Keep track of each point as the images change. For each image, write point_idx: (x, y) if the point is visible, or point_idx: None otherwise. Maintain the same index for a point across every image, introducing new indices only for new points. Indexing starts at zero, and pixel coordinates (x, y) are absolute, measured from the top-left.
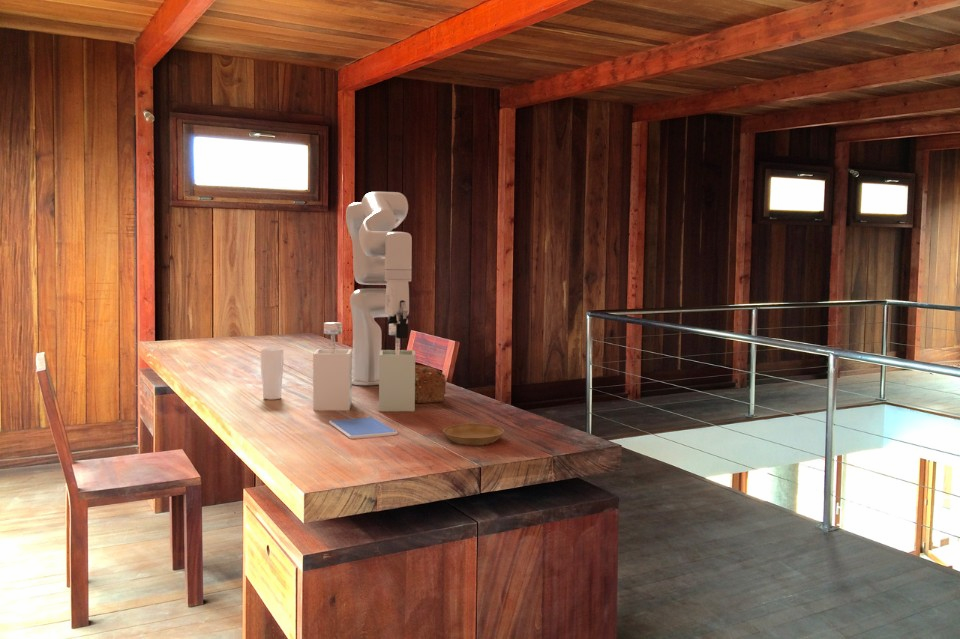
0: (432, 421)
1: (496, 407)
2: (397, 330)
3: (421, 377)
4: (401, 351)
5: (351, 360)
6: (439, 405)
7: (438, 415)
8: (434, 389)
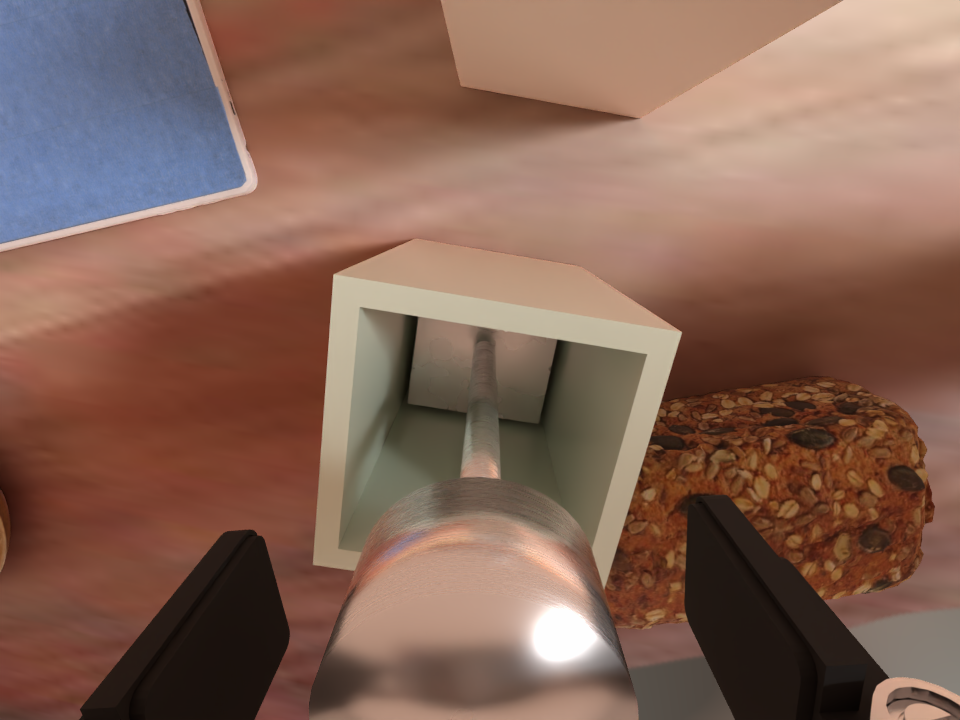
0: (205, 425)
1: None
2: (167, 612)
3: None
4: (601, 503)
5: (724, 34)
6: None
7: (311, 466)
8: None
